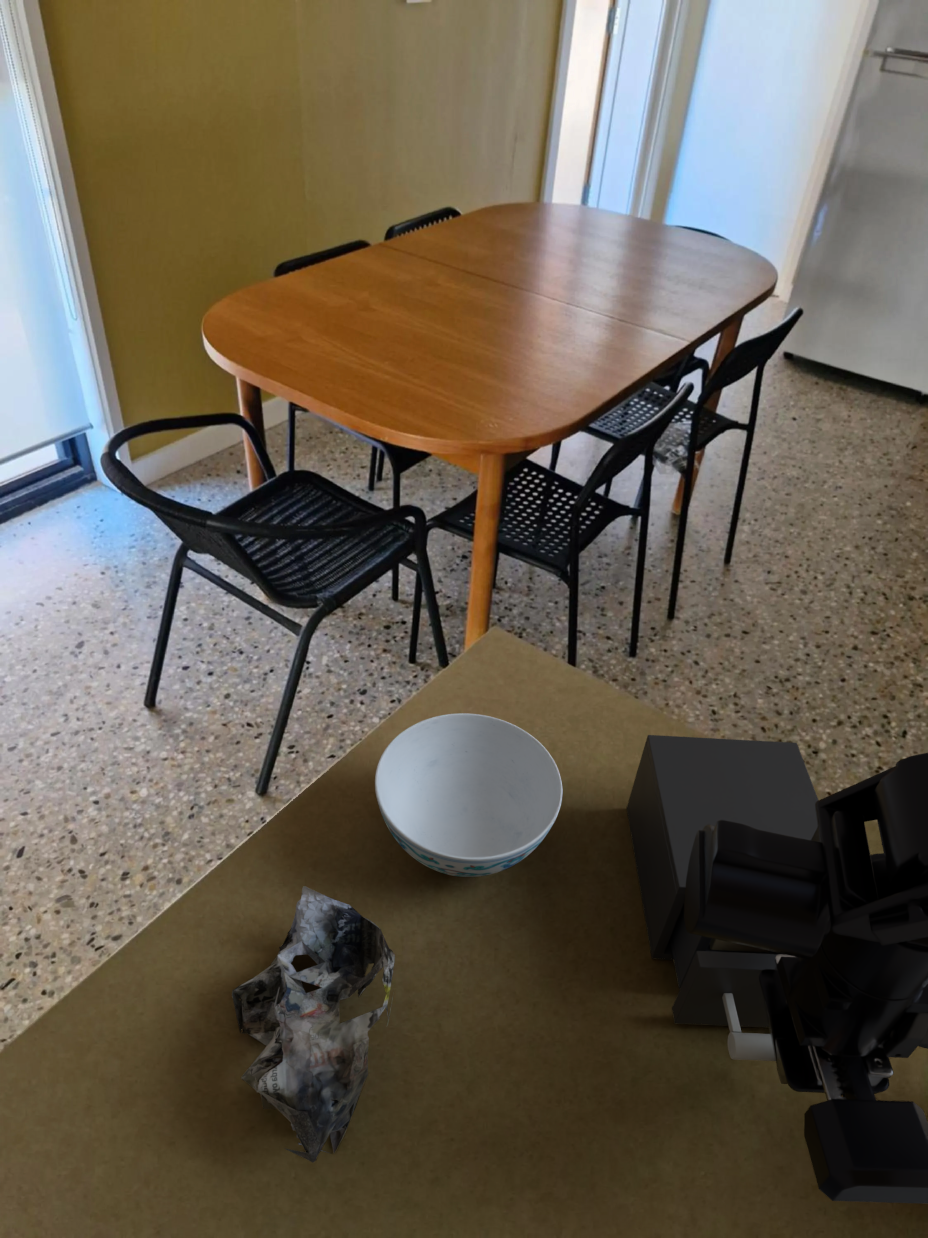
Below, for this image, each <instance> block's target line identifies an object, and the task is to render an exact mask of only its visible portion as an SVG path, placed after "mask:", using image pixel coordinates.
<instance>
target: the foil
mask: <svg viewBox="0 0 928 1238" xmlns="http://www.w3.org/2000/svg"><path fill="white" fill-rule="evenodd" d="M302 955H308V956H309V957H310V958H311V959H312V960H313V961H314V963H315V964H316V965H313V966H311V967H307V968H305V969H302V970H300V971H297V970H296V969H295V967H294V965H293V964H292V963H293V961H294V958H295V957H296V956H302ZM395 961H396V954H395V952H394V951H393V950H392V949H391V948H390V947H389V945H388V943H387V940H386V938H385V935H384V933H383V931H382V929H381V928H380V927H379V926H378V925H377V924H376V923H375V922H373V921H372V920H371V919H369V918H366V917H364V916H363V915H362V914H361V913H360V912H358V911H357V910H356V909H355V908H354V907H353V906H352V905H351V904H348V903H345V902H343V901H339V900H337V899H335V898H333V897H330V896H328V895H326V894H322V893H321V892H319V891H317V890H314V889H313V888H310V887H308V886H306V885H304V886H302V888H301V897H300V899H299V900H298V901H296V905H295V913H294V917H293V920H292V923H291V926H290V928H289V931H287V935H286V937H285V939H284V940H283V943H282V945H280V946H279V950H278V952H277V955H276V956H275V958H274V959H273V960H272V962H271V963H270V965H269V966H268V967H266V968H265V969H264V970H262V971H261V972H260V973H258V974H257V975H255V976H254V977H252V978H250V979H248V980H246V981H244V982H243V983H241V984H239V985H238V986H237V987H235V988H233V989H232V992H231V997H232V1001H233V1006H234V1007H233V1008H234V1011H235V1015H236V1020H237V1024H238V1030H239V1034H243V1035H249V1036H250V1037H252V1038H253V1039H255V1040H257V1041H258V1042H260V1043H261V1044H263V1045H264V1046H265V1048H264V1049H263V1050H262V1051H261V1052H260V1054H259V1055H257V1057H256V1058H255V1059H254V1061H253V1062H252V1063H251V1064H250V1066H249V1067H248V1068H247V1069H246V1071H245V1072H244V1073H243V1074H242V1075H241V1076H240V1079H241V1080H242V1081H244V1082H245V1084H247V1085H249V1086H250V1087H251V1088H252V1089H254V1091H255V1092H256V1093H259V1094H260V1100H261V1105H262V1110H272V1109H273V1110H277V1111H278V1112H279V1113H280V1114H281V1115H283V1117H284V1118H286V1119H287V1120H288V1121H289V1122H290V1127H291V1129H292V1131H295V1134H296V1139H298V1140H299V1142H297V1144H298V1145H299V1146H302V1148H303V1150H304V1151H303V1150H302V1151H301V1150H296V1149H292V1148H291V1149H290V1148H285V1147H283V1148H284V1150H285V1151H288V1152H290V1153H293V1154H295V1155H297V1156H298V1157H301V1158H303V1159H305V1160H306V1161H309V1162H310V1163H315V1162H316V1161H317V1158H318V1156H319V1154H320V1152H324V1153H328V1154H332V1155H333V1154H335V1153H336V1152H337V1150H338V1148H339V1146H340V1144H341V1142H342V1140H343V1139H344V1137H345V1135H346V1133H347V1130H348V1127H349V1125H350V1122H351V1121H352V1117H353V1114H354V1112H355V1110H356V1107H357V1105H358V1102H359V1100H360V1097H361V1093H362V1092H363V1088H364V1086H365V1085H364V1084H365V1083H366V1081H367V1078H368V1076H369V1044H370V1043H369V1042H370V1037H369V1031H370V1030H371V1029H372V1028H373V1026H374V1025H376V1024H377V1022H379V1020H380V1018H381V1015H382V1014H383V1012H384V1011H385V1010H386V1015H387V1023H386V1026H388V1025H389V1022H390V1016H391V1012H392V1007H390V1009H388V1005H389V999H390V998H389V997H390V993H391V992H390V991H391V987H392V982H393V981H392V980H393V974H394V968H395V963H396V962H395ZM372 964H373V965H372ZM369 965H372V967H371V969H370V971H369V972H368V973H367V969H368V966H369ZM382 969H383V973H382V984H383V988H384V992H385V997H384V1001H383V1004H382V1007H378V1008H376V1009H373V1010H371V1011H367V1012H365V1013H363V1014H360V1015H358V1016H355V1017H353V1018H349V1019H347V1020H345V1021H342V1022H340V1001H342V1000H346V999H349V998H351V997H352V996H353V995H354V994H355V993H357V997H358V998H360V996H362V994H363V992H364V991H365V990H366V989H367V987H368V986H370V985H371V984H372V982H374V979H375V978H376V976H377V975H378V973H379V972H380V971H381V970H382ZM366 973H367V974H366ZM302 982H304V983H307V984H310V985H314V986H316V987H319V988H317V989H315V990H311V991H309V992H306V990H305V988H304V985H303V983H302ZM394 990H395V988H394ZM394 993H395V992H393V995H394ZM393 999H394V997H392V999H391V1001H393ZM392 1005H393V1002H391V1004H390V1006H392ZM328 1138H330V1143H331V1147H332V1151H333V1153H331V1152H328V1151H326V1150H322V1149H323V1147H324V1145H325V1144H326V1143H327V1140H328Z"/></svg>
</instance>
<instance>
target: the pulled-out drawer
mask: <svg viewBox="0 0 928 1238" xmlns="http://www.w3.org/2000/svg"><path fill="white" fill-rule="evenodd" d="M711 939H712V938H709V937H704V936H700V935H695V934H690V933H688V932H687V930H686V927H685V919H684V904H683V907H682V909H681V912H680V914H679V917H678V919H677V922H676V924H675V927H674V929H673V932H672V935H671V937H670V944H671V949H672V955H673V960H672V961H673V964H674V970H675V971H674V972H675V975H676V980H677V985H678V989H679V991H678V993H677V995H676V997H675V1000H674V1002H673V1004H672V1006H671V1012H672V1018H673V1023H674V1024H675V1025H677V1024H679V1025H700V1026H701V1025H702V1026H723V1027H726V1026H727V1027H728V1029H729V1033H728V1036H727V1050H728V1054H729V1055H728V1056H729V1057H730V1059H732V1060H738V1061H764V1062H776V1061H775V1056H774V1050H773V1045H772V1040H771V1034H770V1033H754V1032H742V1030H741V1027H745V1028H746V1027H749V1028H769V1025H768V1020H767V1015H766V1010H765V1005H764V1000H763V995H762V990H761V986H760V982H759V974H760V972H761V971H762V970H764V969H775V967H776V964H775V957H776V956H777V955H778V954H782V953H777V952H772V951H769V952H747V951H725V950H711V949H710V942H711ZM785 955H786V954H785Z"/></svg>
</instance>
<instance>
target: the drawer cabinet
mask: <svg viewBox="0 0 928 1238" xmlns="http://www.w3.org/2000/svg"><path fill="white" fill-rule="evenodd" d="M806 766H807V765H806V764H805V761H804V757H803V755H802V753H801V751H800V748H799V745H798V743H797V742H790V741H789V742H788V741H771V740H753V739H734V738H733V739H732V738H715V737H714V738H713V737H697V736H696V737H695V736H679V735H678V736H676V735H659V734H647V737H646V740H645V743H644V746H643V750H642V753H641V757H640V760H639V763H638V767H637V771H636V774H635V778H634V781H633V785H632V788H631V791H630V795H629V798H628V802H627V805H626V814H627V818H628V819H627V821H628V825H629V826H628V827H629V831H630V837H631V843H632V849H633V855H634V861H635V867H636V873H637V879H638V880H637V881H638V885H639V891H640V898H641V902H642V907H643V908H642V910H643V915H644V921H645V926H646V932H647V938H648V944H649V950H650V957H651V959H652V960H663V961H664V960H668V961H674V960H673V955H672V949H671V944H670V937H671V935H672V932H673V929H674V927H675V924H676V922H677V919H678V917H679V914H680V912H681V909H682V907H683V904H684V899H685V887H686V878H687V871H688V865H689V860H690V855H691V851H692V847H693V843H694V840H695V837H696V834H697V832H698V830H703V828H704V827H705V826H706V825H713V826H715V825H716V823H717V821H719V820H726V821H731V822H736V823H741V824H745V825H748V826H750V827H753V828H755V829H759V830H762V831H767V832H772V833H777V834H782V835H787V836H792V837H797V838H802V839H807V840H811V839H812V837H813V835H814V833H815V831H816V829H817V827H818V824H817V817H816V809H815V803H816V802H817V801H819V800H820V799H819V798H818V795H817V791H816V789H815V787H814V785H813V781H812V779H811V776H810V774H809V771H808V769H807V767H806Z"/></svg>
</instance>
